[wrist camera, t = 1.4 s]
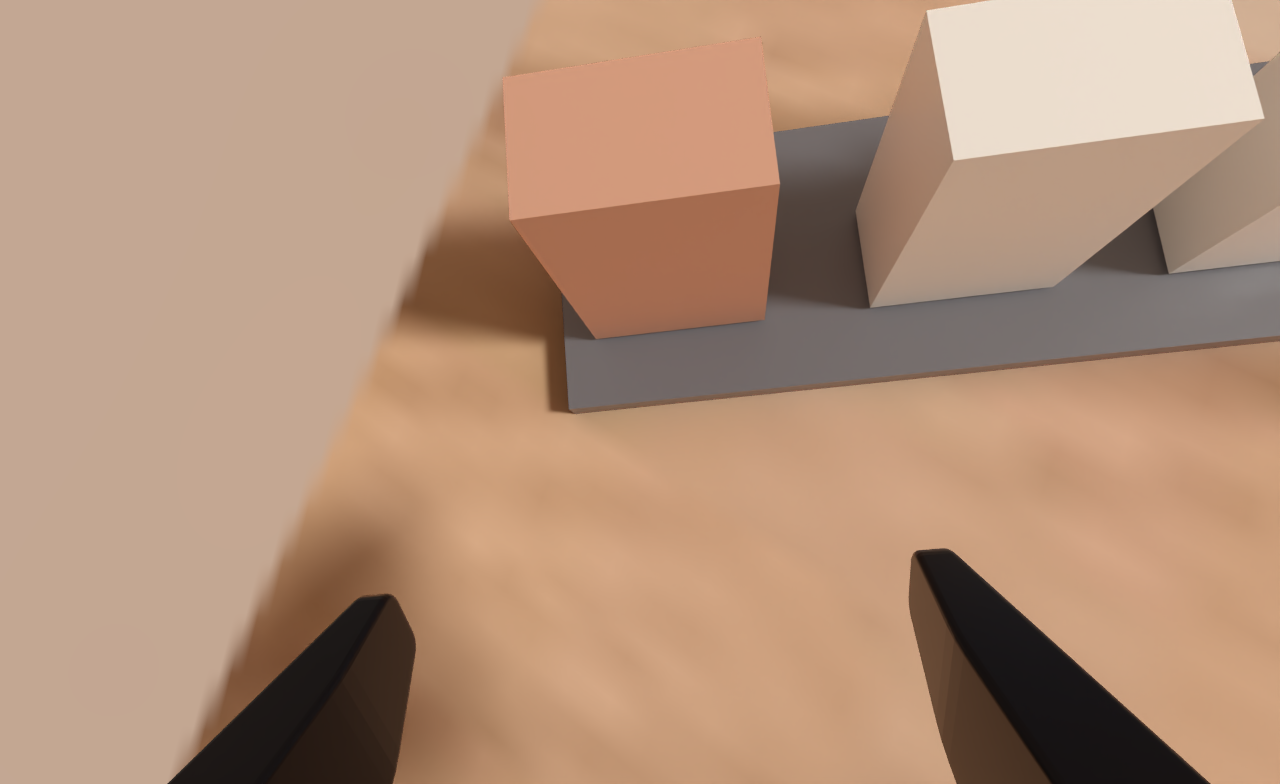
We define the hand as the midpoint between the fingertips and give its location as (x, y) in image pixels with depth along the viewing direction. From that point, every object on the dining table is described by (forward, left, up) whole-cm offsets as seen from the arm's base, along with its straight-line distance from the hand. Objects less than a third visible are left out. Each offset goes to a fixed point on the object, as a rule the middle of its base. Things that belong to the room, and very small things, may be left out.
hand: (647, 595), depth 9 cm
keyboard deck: (-5, -11, -13) cm, 17 cm away
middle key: (-5, -10, -12) cm, 16 cm away
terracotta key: (+2, -8, -12) cm, 14 cm away
